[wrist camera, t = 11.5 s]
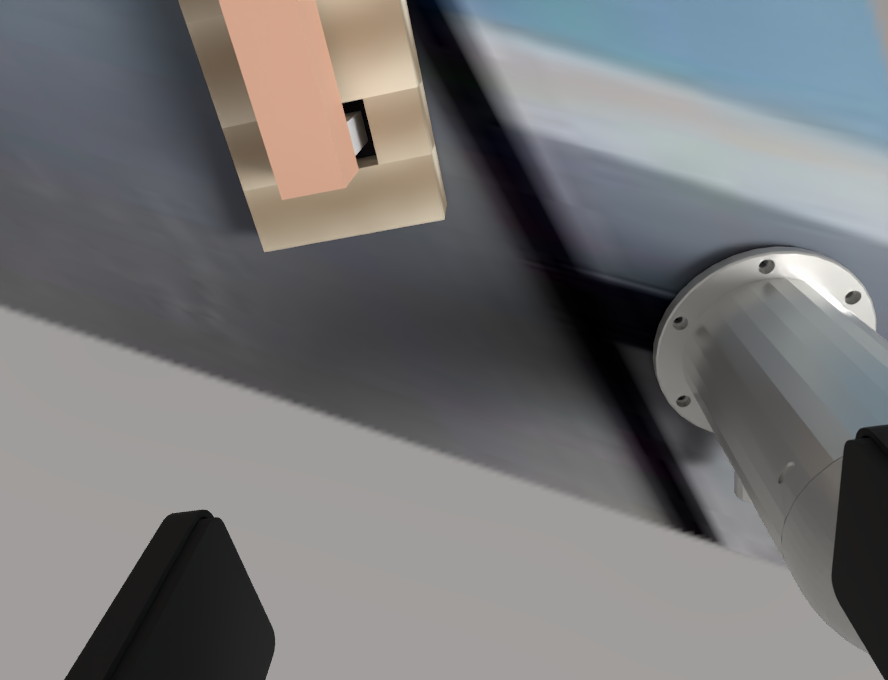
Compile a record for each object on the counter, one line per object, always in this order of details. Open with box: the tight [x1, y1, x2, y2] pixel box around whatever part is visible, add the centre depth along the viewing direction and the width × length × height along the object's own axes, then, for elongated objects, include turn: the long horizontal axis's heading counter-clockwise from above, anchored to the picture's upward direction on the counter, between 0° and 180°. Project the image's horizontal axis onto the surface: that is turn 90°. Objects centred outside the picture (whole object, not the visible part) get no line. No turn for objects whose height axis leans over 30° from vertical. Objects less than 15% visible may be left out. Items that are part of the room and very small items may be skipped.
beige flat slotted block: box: [178, 0, 447, 252], centre depth 32 cm, size 18×10×3 cm, turn 11°
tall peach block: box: [219, 0, 368, 200], centre depth 30 cm, size 11×3×8 cm, turn 11°
